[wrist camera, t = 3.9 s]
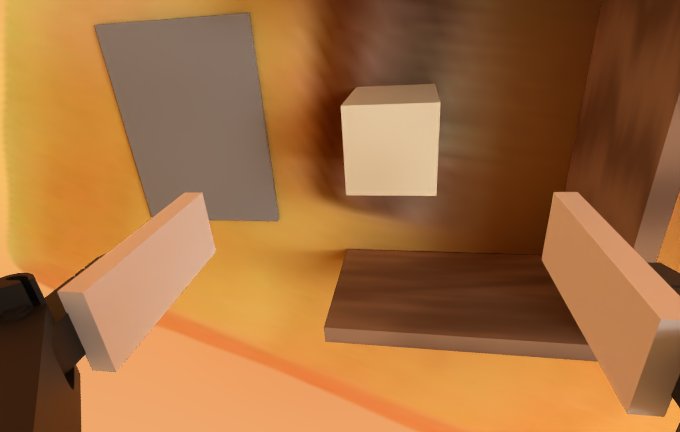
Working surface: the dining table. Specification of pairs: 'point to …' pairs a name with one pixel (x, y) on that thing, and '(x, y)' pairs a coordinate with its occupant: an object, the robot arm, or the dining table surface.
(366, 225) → the dining table surface
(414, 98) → the beige block
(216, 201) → the grey mat
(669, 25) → the open box
